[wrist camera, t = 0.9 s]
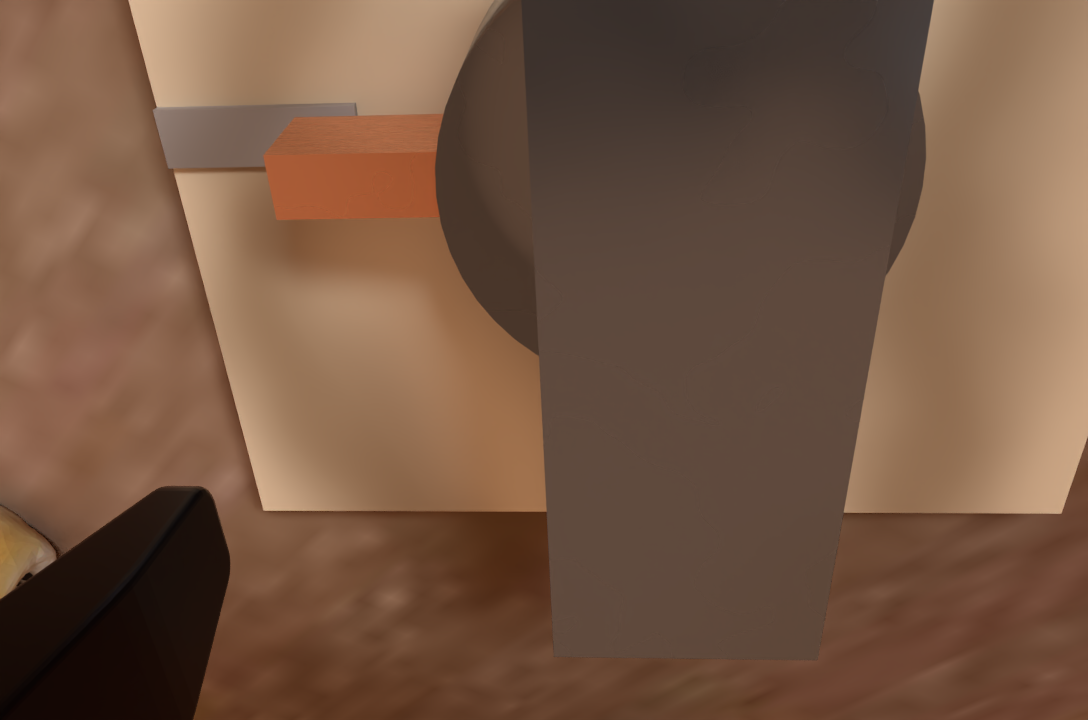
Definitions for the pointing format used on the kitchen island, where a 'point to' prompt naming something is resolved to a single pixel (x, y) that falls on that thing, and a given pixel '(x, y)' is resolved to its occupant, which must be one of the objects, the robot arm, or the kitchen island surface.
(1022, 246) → the beige square board
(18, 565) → the pastry
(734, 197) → the coupling
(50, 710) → the robot arm
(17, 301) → the kitchen island surface
